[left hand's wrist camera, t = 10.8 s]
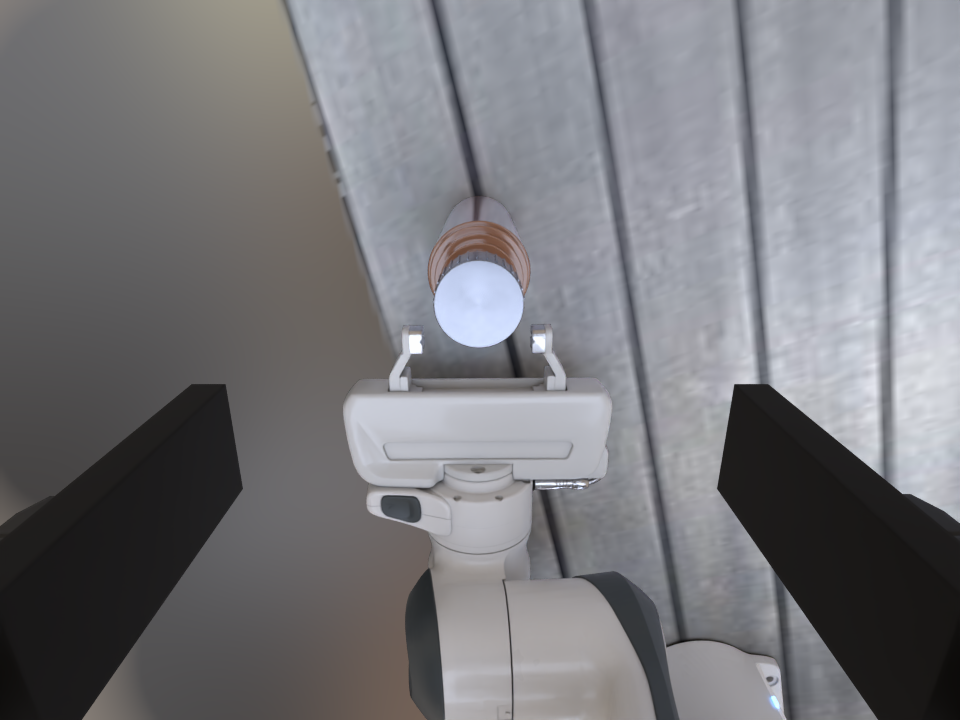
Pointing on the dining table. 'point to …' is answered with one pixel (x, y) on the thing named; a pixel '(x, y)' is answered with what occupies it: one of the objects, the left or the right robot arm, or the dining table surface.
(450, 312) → the cap
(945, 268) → the dining table surface
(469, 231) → the bottle
